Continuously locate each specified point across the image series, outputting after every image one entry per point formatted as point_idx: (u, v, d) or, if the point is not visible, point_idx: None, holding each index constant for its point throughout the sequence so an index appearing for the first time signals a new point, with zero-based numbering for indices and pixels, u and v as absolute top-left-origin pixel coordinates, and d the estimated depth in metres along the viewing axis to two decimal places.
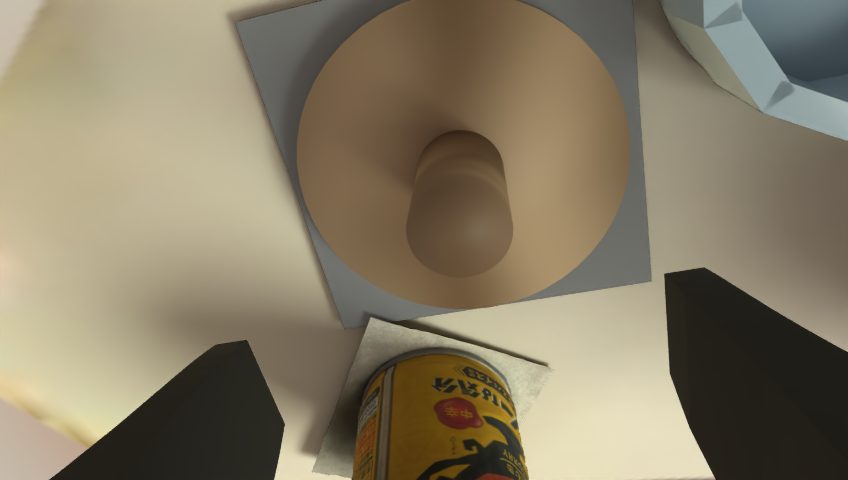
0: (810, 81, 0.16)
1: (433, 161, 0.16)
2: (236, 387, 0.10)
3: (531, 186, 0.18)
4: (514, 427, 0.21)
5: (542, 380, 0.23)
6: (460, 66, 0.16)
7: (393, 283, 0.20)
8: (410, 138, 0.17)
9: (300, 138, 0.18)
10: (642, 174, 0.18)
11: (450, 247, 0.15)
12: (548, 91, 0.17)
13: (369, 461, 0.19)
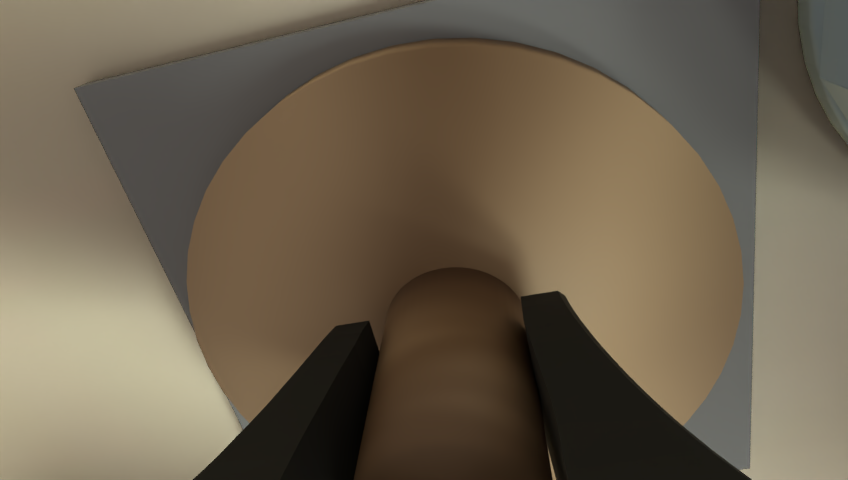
0: None
1: (405, 350, 0.09)
2: (366, 368, 0.09)
3: None
4: None
5: None
6: (455, 168, 0.09)
7: None
8: (373, 277, 0.11)
9: (191, 276, 0.11)
10: (749, 324, 0.11)
11: None
12: (607, 209, 0.10)
13: None
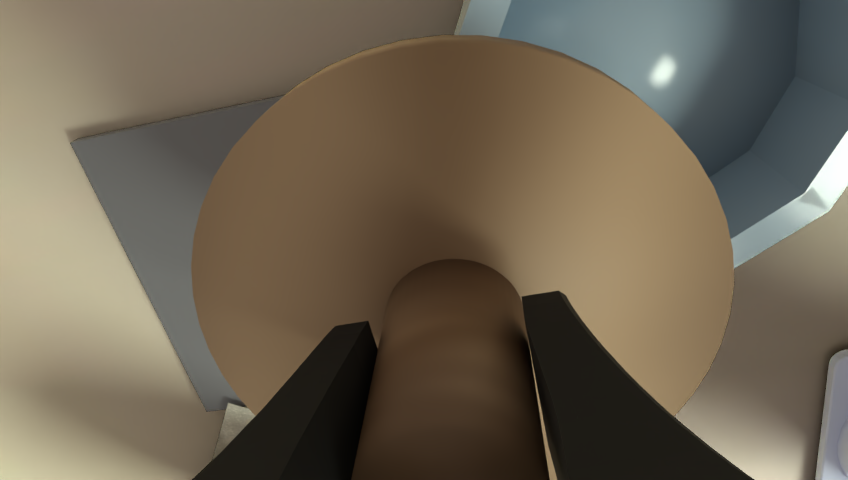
0: None
1: (407, 337, 0.09)
2: (365, 368, 0.09)
3: None
4: None
5: None
6: (459, 162, 0.10)
7: None
8: (374, 267, 0.11)
9: (196, 260, 0.11)
10: None
11: None
12: (605, 206, 0.10)
13: None
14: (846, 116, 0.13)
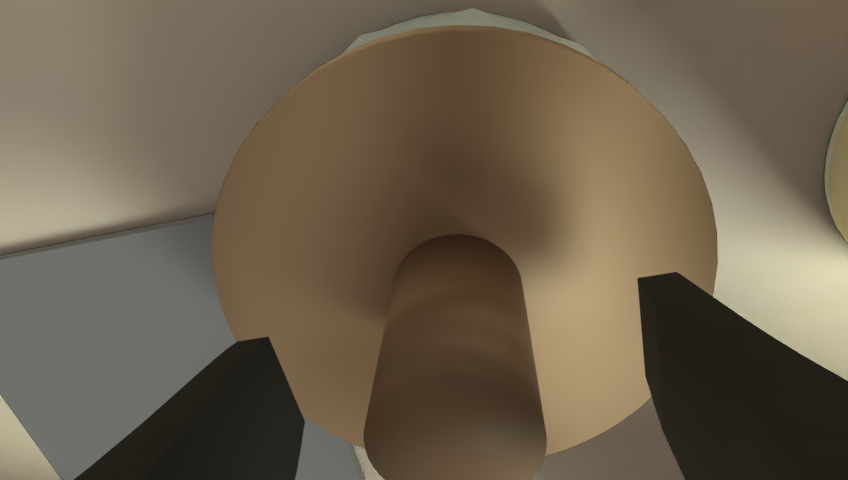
0: None
1: (417, 300, 0.10)
2: (259, 384, 0.10)
3: (561, 318, 0.12)
4: None
5: None
6: (468, 143, 0.10)
7: (351, 428, 0.14)
8: (385, 240, 0.12)
9: (217, 229, 0.12)
10: None
11: (437, 463, 0.09)
12: (601, 188, 0.11)
13: None
14: None
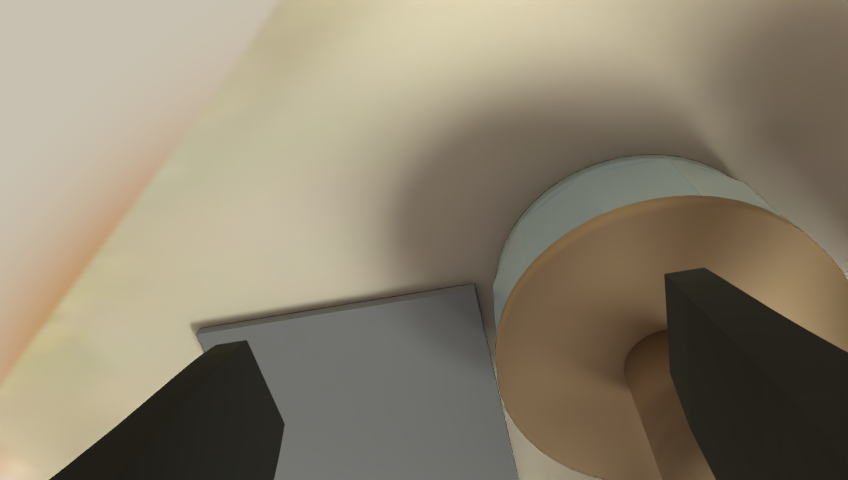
0: None
1: None
2: (236, 387, 0.10)
3: None
4: None
5: None
6: None
7: (571, 457, 0.19)
8: (625, 331, 0.17)
9: (508, 323, 0.17)
10: (505, 431, 0.24)
11: None
12: (783, 301, 0.16)
13: None
14: None
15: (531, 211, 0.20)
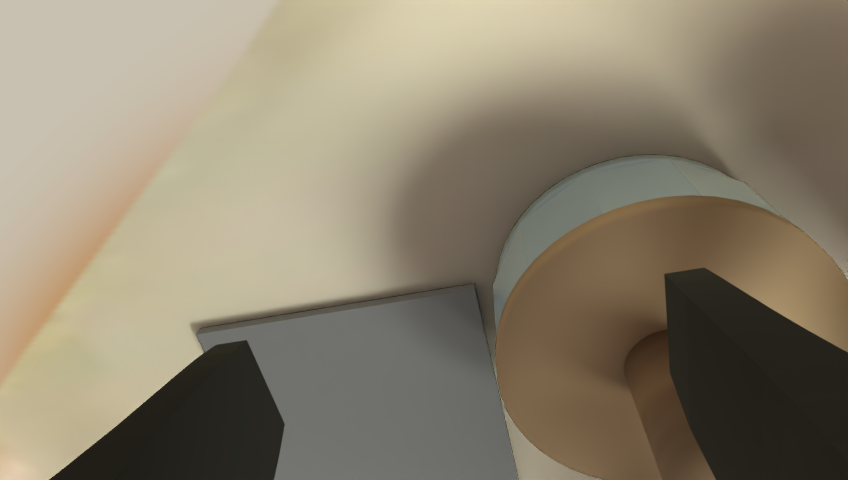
0: None
1: None
2: (236, 387, 0.10)
3: None
4: None
5: None
6: None
7: (571, 457, 0.19)
8: (625, 331, 0.17)
9: (508, 323, 0.17)
10: (505, 431, 0.24)
11: None
12: (783, 301, 0.16)
13: None
14: None
15: (531, 211, 0.20)
